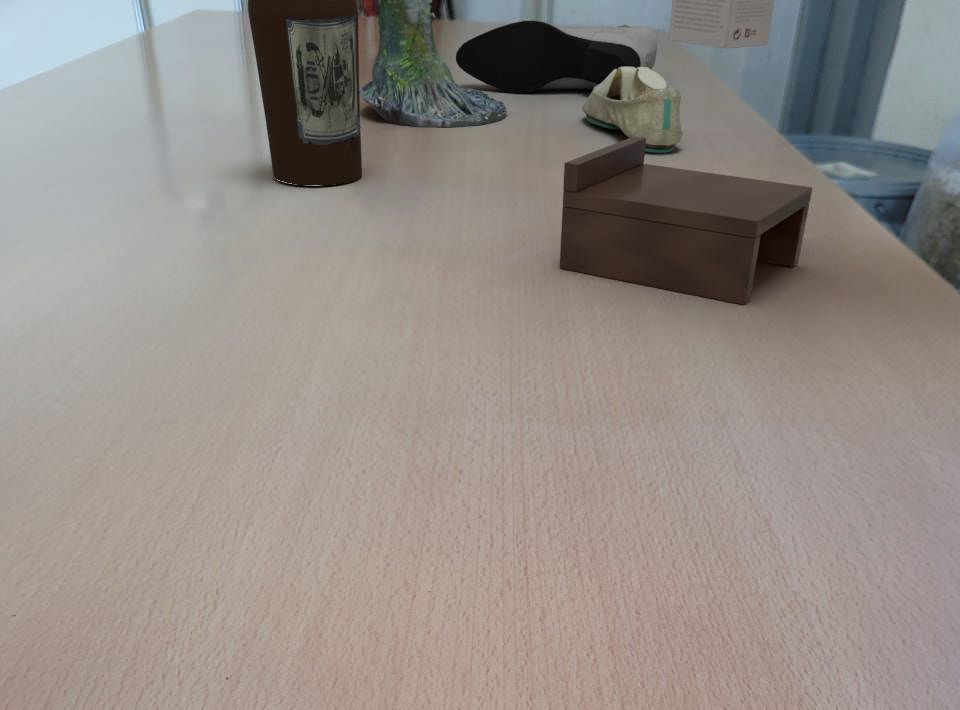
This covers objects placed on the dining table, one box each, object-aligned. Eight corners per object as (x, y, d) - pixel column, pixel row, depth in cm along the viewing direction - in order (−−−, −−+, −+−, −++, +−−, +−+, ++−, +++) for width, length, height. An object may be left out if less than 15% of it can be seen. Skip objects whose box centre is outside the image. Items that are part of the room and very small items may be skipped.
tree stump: (452, 138, 125) (415, -31, 116) (342, 159, 137) (301, 8, 128) (534, 108, 136) (506, -48, 127) (425, 130, 148) (393, -11, 139)
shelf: (798, 264, 83) (818, 159, 78) (744, 305, 75) (763, 191, 70) (625, 234, 90) (633, 136, 85) (559, 268, 82) (564, 162, 77)
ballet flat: (627, 114, 135) (632, 49, 131) (706, 153, 117) (716, 78, 112) (569, 117, 134) (572, 51, 129) (640, 156, 115) (647, 81, 110)
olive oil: (252, 173, 108) (215, -117, 93) (339, 161, 113) (318, -117, 97) (294, 194, 101) (261, -117, 86) (386, 180, 106) (370, -117, 90)
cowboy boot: (640, 36, 139) (672, 19, 158) (455, 10, 144) (507, -3, 163) (628, 112, 145) (661, 87, 163) (451, 83, 150) (502, 63, 169)
